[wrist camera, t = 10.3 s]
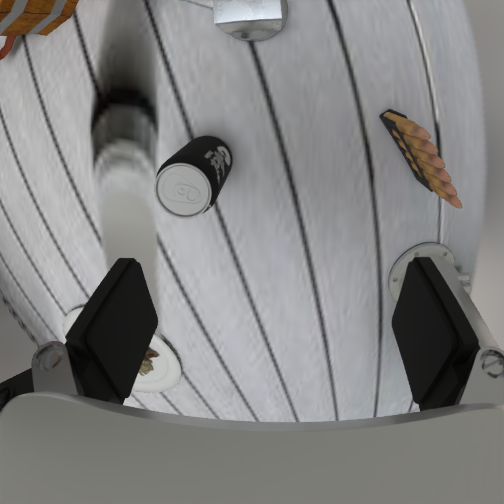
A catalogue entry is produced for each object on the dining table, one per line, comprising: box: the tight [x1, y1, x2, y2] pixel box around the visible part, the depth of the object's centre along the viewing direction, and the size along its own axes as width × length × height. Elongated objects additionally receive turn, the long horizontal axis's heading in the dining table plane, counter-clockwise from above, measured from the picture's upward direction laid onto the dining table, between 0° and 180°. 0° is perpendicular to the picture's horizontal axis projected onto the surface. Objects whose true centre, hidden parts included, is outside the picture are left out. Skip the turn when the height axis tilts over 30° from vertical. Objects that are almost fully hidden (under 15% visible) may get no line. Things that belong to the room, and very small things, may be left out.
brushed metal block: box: [213, 0, 282, 34], centre depth 22 cm, size 6×6×7 cm
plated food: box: [63, 307, 181, 393], centre depth 61 cm, size 30×30×3 cm
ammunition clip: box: [380, 109, 462, 208], centre depth 29 cm, size 11×2×12 cm, turn 41°
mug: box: [0, 0, 79, 60], centre depth 19 cm, size 20×14×15 cm
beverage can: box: [154, 136, 232, 219], centre depth 33 cm, size 7×7×12 cm
